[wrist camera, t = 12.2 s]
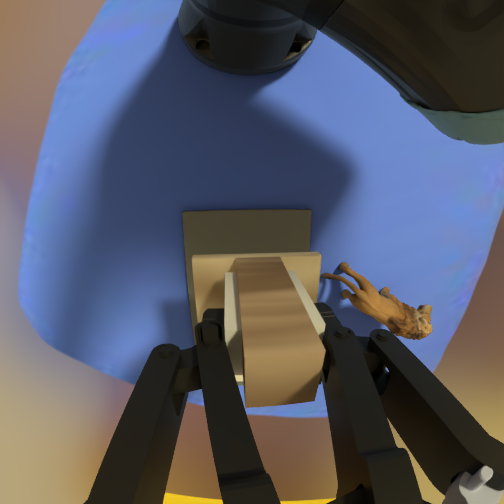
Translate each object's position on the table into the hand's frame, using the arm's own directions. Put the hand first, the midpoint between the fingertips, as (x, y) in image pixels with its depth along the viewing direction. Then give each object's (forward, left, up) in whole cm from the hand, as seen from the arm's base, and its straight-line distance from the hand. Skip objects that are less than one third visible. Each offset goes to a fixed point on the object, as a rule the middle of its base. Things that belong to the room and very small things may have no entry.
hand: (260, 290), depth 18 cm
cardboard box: (+1, 0, -2) cm, 3 cm away
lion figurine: (+7, +16, -14) cm, 22 cm away
